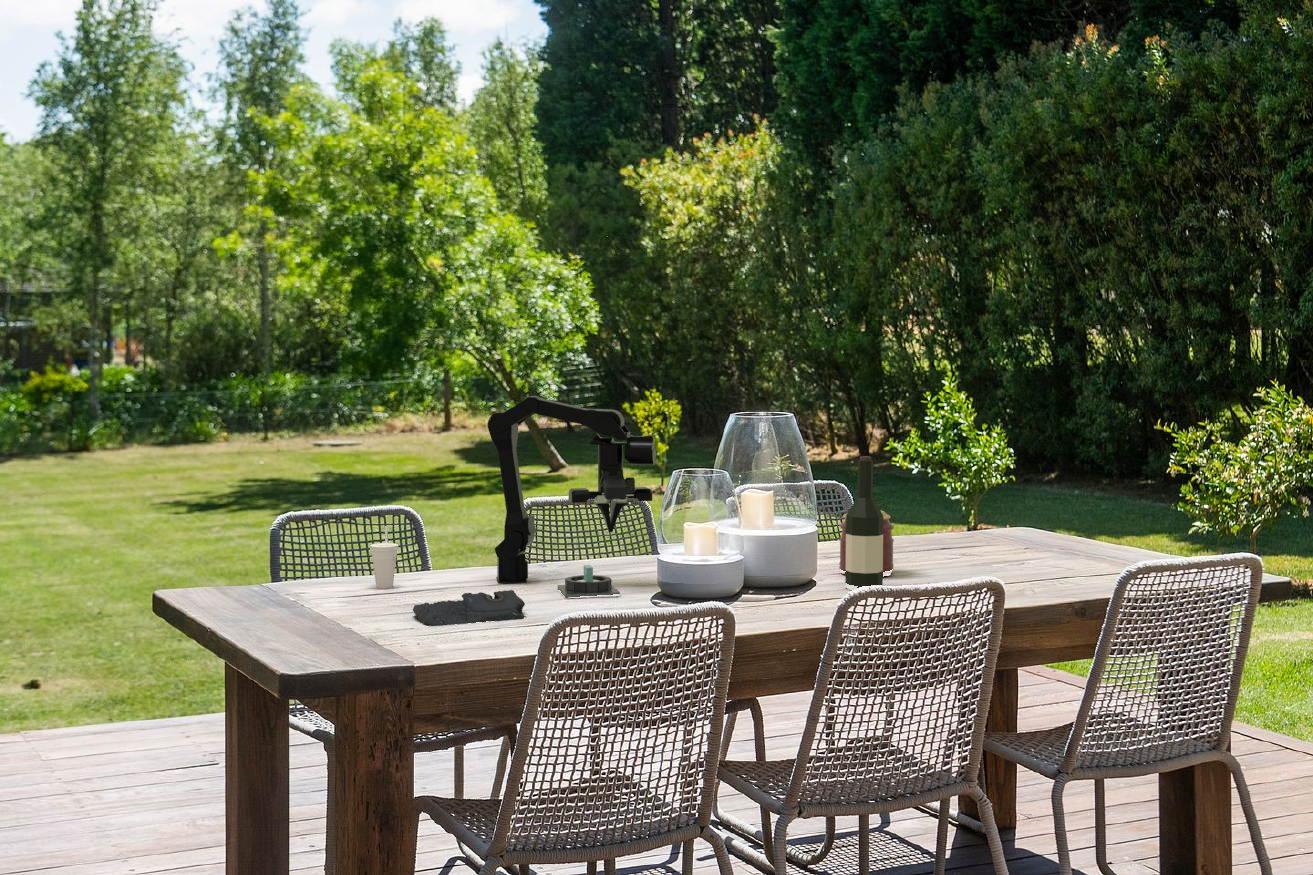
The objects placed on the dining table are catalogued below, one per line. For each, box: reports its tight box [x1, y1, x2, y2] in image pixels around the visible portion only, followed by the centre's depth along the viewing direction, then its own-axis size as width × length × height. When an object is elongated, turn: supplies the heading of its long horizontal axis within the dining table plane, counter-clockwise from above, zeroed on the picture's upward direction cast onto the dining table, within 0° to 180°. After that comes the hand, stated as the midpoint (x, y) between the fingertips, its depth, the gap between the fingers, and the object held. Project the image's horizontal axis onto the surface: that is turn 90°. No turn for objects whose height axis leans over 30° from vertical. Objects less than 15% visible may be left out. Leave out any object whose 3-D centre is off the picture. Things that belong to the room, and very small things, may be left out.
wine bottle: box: [844, 455, 884, 588], centre depth 300 cm, size 8×8×30 cm
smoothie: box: [369, 525, 399, 590], centre depth 301 cm, size 6×6×14 cm
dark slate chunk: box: [412, 589, 527, 627], centre depth 268 cm, size 15×22×5 cm
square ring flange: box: [557, 574, 621, 599], centre depth 294 cm, size 12×12×3 cm
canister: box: [838, 509, 895, 572], centre depth 320 cm, size 13×13×18 cm
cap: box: [578, 564, 599, 582], centre depth 294 cm, size 6×6×5 cm
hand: (610, 532), depth 306 cm, fingers closed
